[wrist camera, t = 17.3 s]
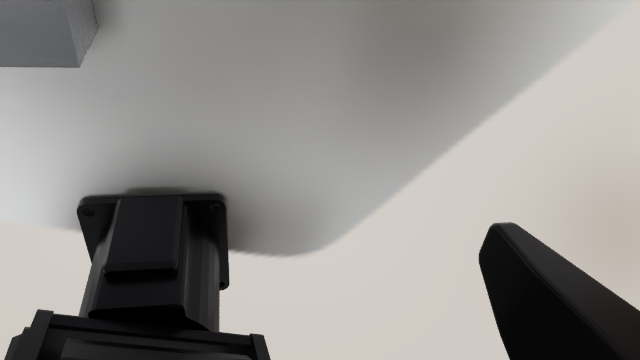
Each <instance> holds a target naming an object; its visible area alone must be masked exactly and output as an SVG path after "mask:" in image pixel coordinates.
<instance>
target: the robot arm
mask: <svg viewBox="0 0 640 360" xmlns="http://www.w3.org/2000/svg"><path fill="white" fill-rule="evenodd" d="M212 204H218V206H212ZM86 208H91V209H93V210H92V211H91V210H87V209H86ZM77 215H78V218H79V222H80V225H81V229H82V232H83V235H84V239H85V242H86V246H87V249H88V252H89V256H90V259H91V262H92V266H91V270H90V274H89V277H88V282H87V285H86V289H85V293H84V297H83V301H82V304H81V308H80V313H79V316H71V315H61V314H53V311H49V310H40V309H38V310H37V312H36V315H35V317H34V320H33V322H32V324H31V327H25V328H24V331H23V333H22V334H20V335H18V336H15V337H13V338H12V340H11V343H10V345H9V348H8V351H7V354H6V356H5V359H4V360H270V356H269V353H268V349H267V346H266V343H265V339H264V336H263V335H260V334H250V335H240V334H231V333H222V332H219V291H220V290H224V289H226V288H227V287H228V286H229V263H228V238H227V214H226V200H225V198H224V197H223V196H221V195H219V194H197V195H166V196H135V197H104V198H86V199H83V200H81V201H80V202H79V204H78V208H77ZM479 264H480V268H481V272H482V275H483V278H484V282H485V285H486V289H487V292H488V296H489V299H490V303H491V306H492V310H493V313H494V317H495V320H496V324H497V327H498V330H499V333H500V336H501V338H502V341H503V344H504V346H505V349H506V351H507V353H508V356H509V358H510V360H640V311H639V310H638V309H636V308H635V307H633V306H632V305H630V304H629V303H628V302H626V301H625V300H623V299H622V298H620V297H619V296H617V295H616V294H615V293H613V292H612V291H611V290H609V289H608V288H606V287H605V286H603V285H602V284H600V283H599V282H598V281H596V280H595V279H593V278H592V277H591V276H589V275H588V274H586V273H585V272H583V271H582V270H581V269H579V268H578V267H576V266H575V265H573V264H572V263H571V262H569V261H568V260H566V259H565V258H564V257H562V256H561V255H559V254H558V253H557V252H555V251H554V250H552V249H551V248H549V247H548V246H546V245H545V244H544V243H542V242H541V241H539V240H538V239H537V238H535V237H534V236H532V235H531V234H529V233H528V232H527V231H525V230H524V229H522V228H521V227H520V226H518V225H517V224H515V223H510V222H509V223H494V224H493V225H492V226H490V228H489V230H488V232H487V235H486V237H485V240H484V242H483V245H482V247H481V249H480V252H479ZM219 281H221V282H219Z"/></svg>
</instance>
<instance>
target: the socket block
mask: <svg viewBox="0 0 640 360" xmlns="http://www.w3.org/2000/svg"><path fill="white" fill-rule="evenodd" d="M97 29H98V28H97V23H96V18H95V13H94V8H93V3H92V0H0V67H67V68H80V66H81V63H82V61H83V59H84V57H85V55H86V53H87V51H88V49H89V46H90V44H91V42H92V40H93V38H94V36H95V34H96V31H97Z"/></svg>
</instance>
